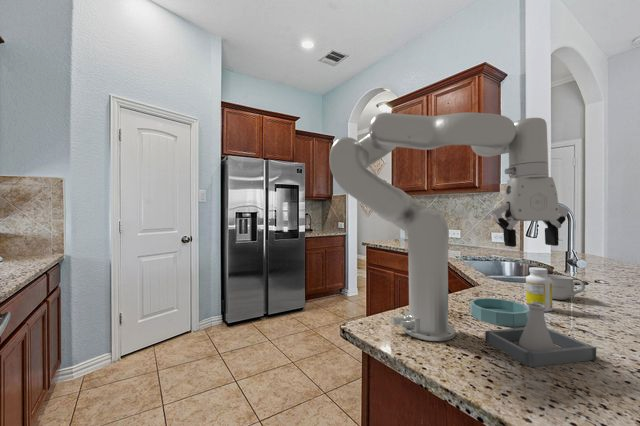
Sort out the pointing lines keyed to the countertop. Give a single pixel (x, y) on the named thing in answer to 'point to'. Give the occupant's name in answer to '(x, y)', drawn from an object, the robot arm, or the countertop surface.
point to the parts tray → (568, 354)
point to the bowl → (499, 311)
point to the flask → (536, 331)
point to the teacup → (564, 286)
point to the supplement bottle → (539, 288)
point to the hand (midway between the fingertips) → (531, 245)
